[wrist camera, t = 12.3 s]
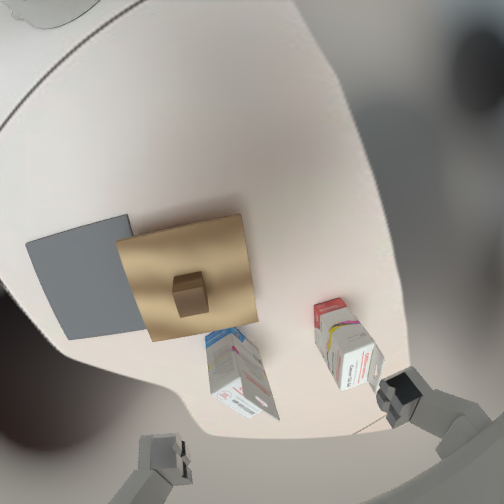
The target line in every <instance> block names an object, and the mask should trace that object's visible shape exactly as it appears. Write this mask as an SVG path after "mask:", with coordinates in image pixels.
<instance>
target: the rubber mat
mask: <svg viewBox="0 0 504 504" xmlns="http://www.w3.org/2000/svg"><path fill="white" fill-rule="evenodd" d="M132 236H133V234H132V230H131V227H130V223H129V220H128V216H127V215H123V216H119V217H115V218H111V219H107V220H103V221H100V222H96V223H92V224H89V225H85V226H81V227H78V228H74V229H71V230H67V231H64V232H61V233H57V234H54V235H51V236H47V237H44V238H41V239H38V240H35V241H32V242H28V243H26V244H25V245H26V248H27V251H28V254H29V256H30V259H31V262H32V264H33V267H34V269H35V272H36V274H37V276H38V279H39V281H40V284H41V286H42V288H43V290H44V293H45V295H46V297H47V299H48V301H49V303H50V305H51V308H52V310H53V312H54V314H55V316H56V318H57V320H58V322H59V323H60V325H61V327H62V329H63V331H64V333H65V335H66V336H67V338H68V340H75V339H83V338H90V337H98V336H105V335H112V334H119V333H125V332H131V331H138V330H144V329H147V328H146V325H145V323H144V321H143V318H142V316H141V313H140V311H139V308H138V306H137V303H136V300H135V298H134V295H133V292H132V290H131V287H130V284H129V281H128V279H127V276H126V273H125V270H124V267H123V264H122V261H121V258H120V255H119V252H118V249H117V246H116V243H115V242H116V241H117V240H119V239H123V238H128V237H132Z"/></svg>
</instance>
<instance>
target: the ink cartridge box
mask: <svg viewBox="0 0 504 504" xmlns="http://www.w3.org/2000/svg"><path fill="white" fill-rule="evenodd" d="M314 318H315V344H316V345H317V347H318V349H319V351H320V353H321V355H322V357H323V359H324V360H325V362H326V364H327V366H328V368H329V370H330V372H331V374H332V376H333V378H334V379H335V381H336V383H337V385H338V387H339V389H340V391H344V390H347V389H349V388H352V387H354V386H357V385H360V384H362V383H365V382H367V381H368V382H369V384H370V386H371V388H372V390H373V392H374V394H376V393H377V389H378V385H379V382H380V378H381V374H382V370H383V365H384V361H385V359H384V356H383V355H382V353H381V351H380V350H379V348H378V346H377V345H376V343H375V341H374V340H373V338H372V337H371V336H370V335H369V333H368V332H367V331H366V329H365V328H364V327H363V326H362V324H361V323H360V322H359V321H358V319H357V318H356V317H355V316H354V314H353V313H352V312H351V311H350V309H349V308H348V307H347V306H346V304H345V303H344V302H343V301H342V299H341V298H338V299H335V300H332V301H328V302H324V303H321V304H317V305H314ZM376 364H377V367H378V368H377V375H376V377H374V373H375V368H376Z"/></svg>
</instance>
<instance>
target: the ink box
mask: <svg viewBox="0 0 504 504" xmlns="http://www.w3.org/2000/svg"><path fill="white" fill-rule="evenodd" d="M205 341H206V352H207V363H208V373H209V382H210V392H211V395H212V396H214V397H215V398H217V399H218V400H220V401H221V402H222V403H224V404H225V405H227V406H228V407H230V408H232V409H233V410H235V411H236V412H238V413H239V414H241V415H242V416H244V417H246V418H247V419H249V418H251V417H253V416H255V415H257V414H259V413H261V412H263V411H264V412H265V413H267V414H268V415H270V416H272V417H273V418H275V419H276V420H278V421H280V418H279V415H278V412H277V409H276V406H275V402H274V398H273V395H272V392H271V389H270V385H269V382H268V379H267V376H266V373H265V370H264V366H263V363H262V360H261V356H260V353H259V351H258V350H257V349H256V348H255V347H254V346H253V345H252V344H251V343H250V342H249V341H248V340H247V339H246V338H245V337H244V336H243V335H242V334H241V333H240V332H239V331H238V330H237V329H236V328H235V327H232V328H227V329H222V330H217V331H214V332H213V333H211V334H210V335H208V336H207V337H205Z"/></svg>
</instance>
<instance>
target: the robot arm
mask: <svg viewBox="0 0 504 504" xmlns="http://www.w3.org/2000/svg"><path fill="white" fill-rule="evenodd" d="M0 1H1V2H3V3H4V4H5V5H6V6H7V7H9V8H10V9H11V10H12V17H14V18H15V19H19V20H26V21H27V22H28V23H29V24H30V25H32V26H33V27H36V28H40V29H49V28H54V27H58V26H60V25H63V24H66V23H68V22H70V21H72V20H73V19H75V18H77V17H78V16H80V15H82V14H83V13H84V12H86V11H87V10H88V9H90V8H91V7H92V6H93V5H94V4H95V3H96V2H97V1H98V0H0ZM379 386H380V389H379V390H378V391H377V395H376V398H377V403H378V406H379V408H380V409H381V411H383V412H386V413H387V415H386V419H387V420H388V422H389V424H390V425H391V427H392V428H393V429H394V428H396V427H398V426H401V425H403V424H405V423H407V422H409V421H410V423H412V424H414V425H416V426H418V427H420V428H421V429H423V430H425V431H427V432H429V433H431V434H433V435H435V436H438V437H439V438H441V441H440V442H439V444H438V445H437V446H436V451H437V453H438V455H439V456H440V458H441V459H442V461H440V462H439V463H437V464H435V465H434V466H432V467H431V468H429V469H427V470H426V471H424V472H422V473H421V474H419V475H417V476H415V477H414V478H412V479H410V480H408V481H406V482H404V483H402V484H400V485H399V486H397V487H395V488H393V489H391V490H389V491H386V492H384V493H382V494H380V495H378V496H376V497H373V498H371V499H369V500H367V501H364V502H362V503H360V504H504V412H503V413H502V414H501V415H500V416H499V417H498V418H497V419H496V420H494V421H493V422H492V421H491V419H490V418H489V417H488V415H487V414H486V413H485V412H484V411H483V409H482V408H481V407H480V406H479V405H478V403H475V402H471V401H469V400H465V399H463V398H460V397H457V396H454V395H451V394H448V393H445V392H442V391H440V390H437V389H435V390H432V388H431V387H430V386H429V385H428V384H427V382H426V381H425V380H424V379H423V378H422V376H421V375H420V374H419V373H418V372H417V370H416V369H415V368H414V367H412V366H411V367H408V368H406V369H404V370H402V371H399V372H397V373H395V374H393V375H390V376H388V377H386V378H384V379H382V380H381V381H380V383H379ZM190 461H191V459H190V453H189V448H188V446H187V444H186V443H185V442H184V441H182V440H181V436H180V434H179V433H169V434H156V435H154V434H153V435H141V437H140V441H139V457H138V470H134V471H133V473H132V474H131V475H130V477H129V478H128V479H127V480H126V482H125V483H124V484H123V486H122V487H121V488H120V490H119V491H118V492H117V493H116V495H115V496H114V497H113V498H112V500H111V501H110V502H109V503H108V504H164V502H165V501H166V499H167V497H168V495H169V493H170V492H171V490H172V488H173V486H177V485H188V484H193V482H192V471H191V469H190V468H189V467H188V465H189V463H190Z"/></svg>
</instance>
